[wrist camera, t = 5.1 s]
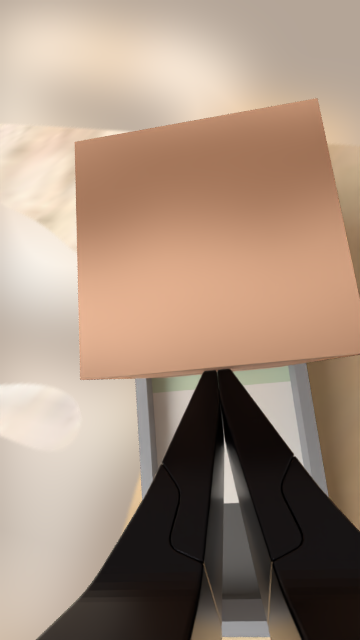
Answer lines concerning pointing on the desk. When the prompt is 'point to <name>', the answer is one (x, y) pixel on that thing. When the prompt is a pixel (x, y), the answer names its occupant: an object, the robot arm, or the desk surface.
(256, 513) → the robot arm
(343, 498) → the desk surface
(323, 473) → the trap box
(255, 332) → the terracotta block
